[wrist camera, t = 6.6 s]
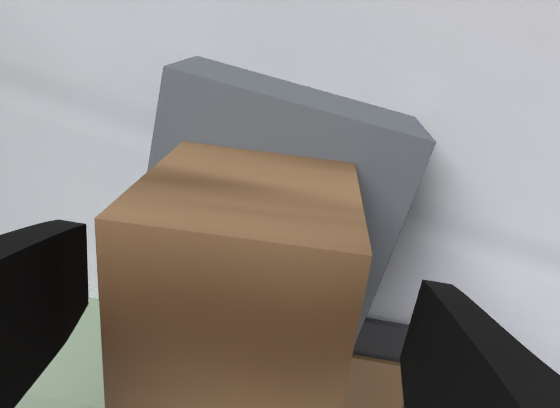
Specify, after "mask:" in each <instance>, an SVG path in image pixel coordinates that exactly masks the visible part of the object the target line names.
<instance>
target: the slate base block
mask: <svg viewBox="0 0 560 408" xmlns="http://www.w3.org/2000/svg"><path fill="white" fill-rule="evenodd" d="M182 141H183V142H191V143H199V144H207V145H215V146H223V147H231V148H239V149H247V150H255V151H263V152H271V153H279V154H287V155H295V156H303V157H311V158H319V159H327V160H335V161H343V162H350V163H355V167H356V172H357V178H358V183H359V188H360V193H361V198H362V204H363V209H364V214H365V219H366V225H367V230H368V235H369V240H370V245H371V251H372V261H371V266H370V271H369V275H368V280H367V285H366V290H365V295H364V300H363V305H362V310H361V315H360V320H359V325H358V330H357V335H356V340H357V338H358V335H359V333H360V330H361V328H362V325H363V323H364V320H365V318H366V315H367V313H368V311H369V308H370V306H371V303H372V301H373V298H374V296H375V293H376V291H377V288H378V286H379V283H380V281H381V278H382V276H383V273H384V271H385V268H386V266H387V263H388V261H389V258H390V256H391V253H392V251H393V248H394V246H395V243H396V241H397V238H398V236H399V234H400V231H401V229H402V226H403V224H404V221H405V219H406V216H407V214H408V211H409V209H410V206H411V204H412V201H413V199H414V196H415V194H416V191H417V189H418V186H419V184H420V181H421V179H422V176H423V174H424V171H425V169H426V166H427V164H428V161H429V159H430V156H431V154H432V152H433V149H434V147H435V144H436V141H435V140H434V139H433V138H432V137H431V136H430V134H429V133H428V132H427V131H426V130H425V128H424V127H423V126H422V125H421V124H420V123H419V121H418V120H417V119H416V118H415V117H414V116H410V115H407V114H403V113H399V112H396V111H392V110H389V109H385V108H381V107H378V106H374V105H371V104H367V103H364V102H360V101H356V100H353V99H349V98H346V97H342V96H339V95H335V94H331V93H328V92H324V91H321V90H317V89H314V88H310V87H306V86H303V85H299V84H296V83H292V82H288V81H285V80H281V79H278V78H274V77H271V76H267V75H263V74H260V73H256V72H253V71H249V70H246V69H242V68H238V67H235V66H231V65H228V64H224V63H221V62H217V61H213V60H210V59H206V58H203V57H199V56H196V57H192V58H189V59H186V60H182V61H179V62H176V63H172V64H169V65H166V66H164V67H163V73H162V80H161V86H160V93H159V99H158V106H157V112H156V119H155V125H154V132H153V138H152V145H151V151H150V158H149V165H148V171H149V170H150V169H152V168H153V167H154V166H155V165H156V164H157V163H158V162H160V161H161V160H162V159H163V158H164V157H165V156H166V155H168V154H169V153H170V152H171V151H172V150H173V149H174V148H176V147H177V146H178V145H179V144H180V143H181V142H182ZM148 171H147V172H148ZM356 340H355V343H356ZM354 345H355V344H354Z"/></svg>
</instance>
